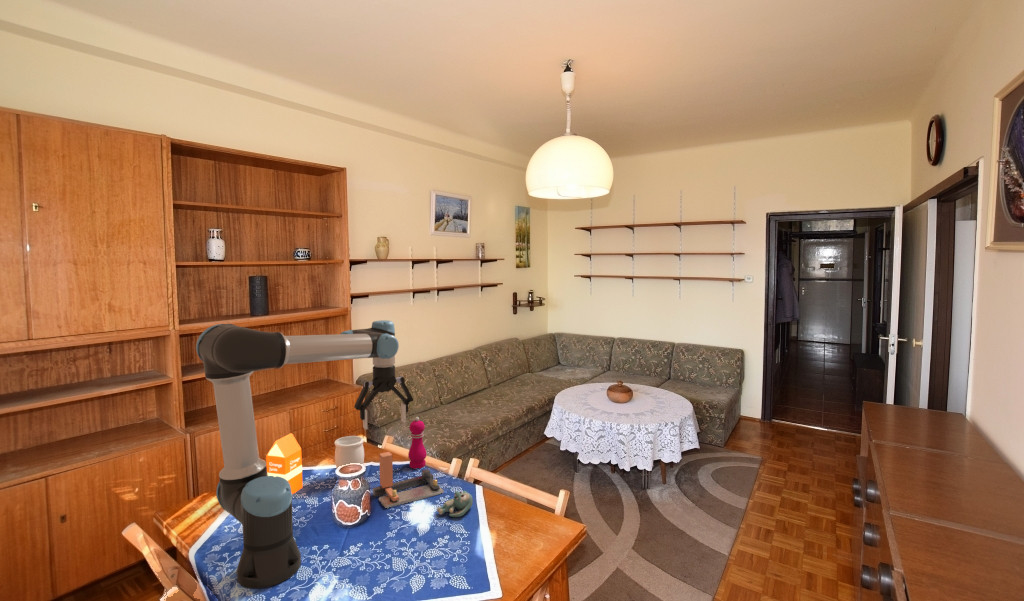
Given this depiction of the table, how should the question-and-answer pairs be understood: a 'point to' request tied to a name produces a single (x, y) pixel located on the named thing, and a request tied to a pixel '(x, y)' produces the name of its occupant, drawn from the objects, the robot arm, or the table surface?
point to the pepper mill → (417, 445)
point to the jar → (349, 450)
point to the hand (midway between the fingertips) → (384, 425)
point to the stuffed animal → (457, 504)
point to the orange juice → (286, 461)
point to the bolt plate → (410, 495)
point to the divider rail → (409, 483)
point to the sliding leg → (387, 475)
